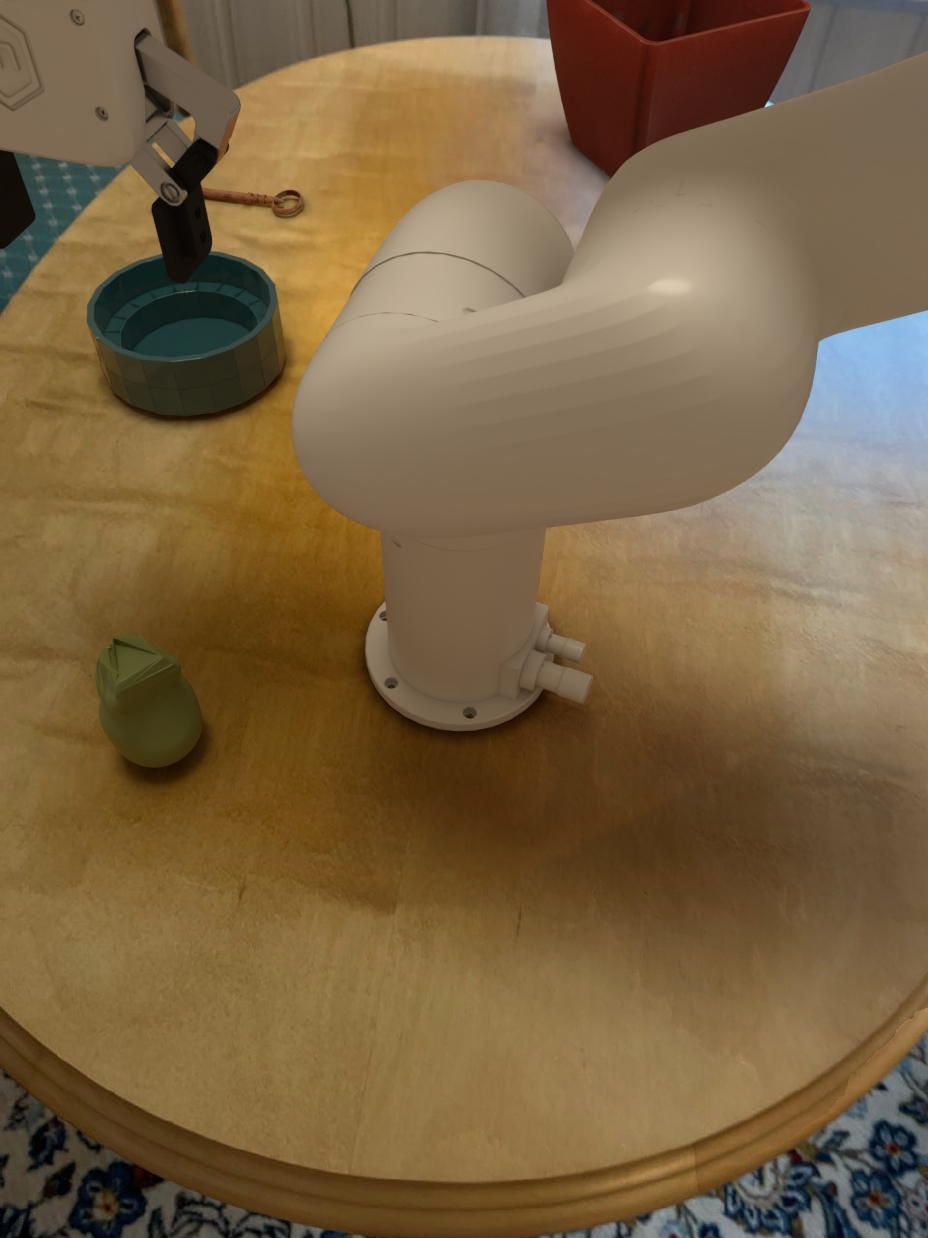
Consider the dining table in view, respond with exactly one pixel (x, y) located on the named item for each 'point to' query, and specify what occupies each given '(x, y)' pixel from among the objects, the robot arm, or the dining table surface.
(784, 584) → the dining table surface
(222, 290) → the bowl
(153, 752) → the pear
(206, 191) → the key
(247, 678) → the dining table surface
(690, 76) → the flower pot
